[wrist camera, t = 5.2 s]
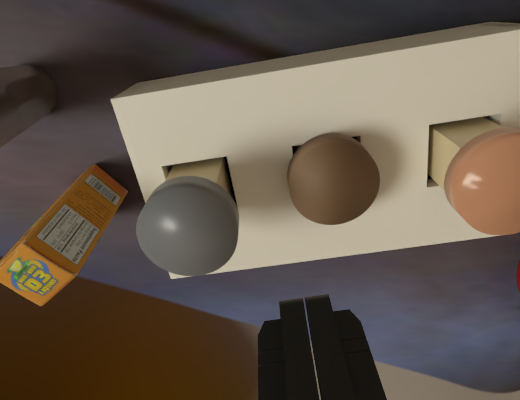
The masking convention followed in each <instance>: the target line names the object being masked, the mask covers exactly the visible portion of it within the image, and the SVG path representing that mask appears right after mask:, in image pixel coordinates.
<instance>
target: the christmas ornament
mask: <svg viewBox="0 0 520 400" xmlns="http://www.w3.org/2000/svg"><path fill="white" fill-rule="evenodd" d="M516 278H517V285H518V289H519V292H520V261H519V264H518V267H517V275H516Z"/></svg>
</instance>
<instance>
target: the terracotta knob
mask: <svg viewBox="0 0 520 400" xmlns="http://www.w3.org/2000/svg"><path fill="white" fill-rule="evenodd" d="M427 174H428V175H429V176H430V177H431V178H432V179H433V180H434V181H435V182H436V183H437V184H438V185H439V186H440V187H441V188H442V189H443V190H444V191H445V195H446V198H447V200H448V202H449V204H450V205H451V206H452V207H453V208H454V209H455V211H456V212H457V213H458V214H459V215H460V216H461V217H462V218H463V219H464V220H465V221H466V222H467V223H468V224H469V225H470V226H471V227H473V228H474V229H476V230H477V231H480V232H482V233H485V234H490V235H509V234H515V233H518V232H520V128H517V127H502V126H500V125H498V124H496V123H494V122H492V121H490V120H488V119H486V118H484V117H477V118H470V119H464V120H457V121H451V122H444V123H438V124H431V125H429V141H428V168H427Z"/></svg>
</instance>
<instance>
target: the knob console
mask: <svg viewBox="0 0 520 400" xmlns="http://www.w3.org/2000/svg"><path fill="white" fill-rule="evenodd" d="M110 100H111V103H112V105H113V108H114V111H115V114H116V117H117V120H118V123H119V126H120V129H121V132H122V135H123V138H124V141H125V144H126V147H127V150H128V153H129V156H130V159H131V162H132V165H133V168H134V171H135V174H136V177H137V180H138V183H139V186H140V189H141V192H142V195H143V198H144V200H145V203H146V202H147V200H148V199H149V197H150V195H151V194H152V192H153V191H154V190H155V189H156V188H157V187H158V186H159V185H161V184H162V183H163V182H165V180H166V178H167V176H168V175H169V173H170V171H171V169H172V167H173V166H174V164H180V163H187V162H193V161H199V160H206V159H212V158H219V157H225V156H227V160H228V165H229V170H230V174H231V179H232V184H233V188H234V193H235V198H236V202H237V208H238V212H239V231H238V241H237V246H236V249H235V252H234V254H233V255H232V257H231V258H230V260H229V261H228V262H227V263H226V264H225V265H223V266H222V267H221V268H219V269H218V270H216V271H214V272H211V273H208V274H213V273H220V272H228V271H235V270H243V269H251V268H258V267H266V266H273V265H281V264H288V263H296V262H303V261H311V260H319V259H326V258H334V257H341V256H349V255H356V254H364V253H371V252H379V251H386V250H394V249H402V248H409V247H417V246H424V245H432V244H439V243H447V242H454V241H462V240H470V239H477V238H485V237H492V236H500V235H490V234H485V233H482V232H480V231H477V230H476V229H474V228H473V227H471V226H470V225H469V224H468V223H467V222H466V221H465V220H464V219H463V218H462V217H461V216H460V215H459V214H458V213H457V212H456V211H455V209H454V208H453V207H452V206H451V205H450V204H449V202H448V200H447V198H446V195H445V191H444V190H443V189H442V188H441V187H440V186H439V185H438V184H437V183H436V182H435V181H434V180H433V179H429V180H427V168H428V141H429V125H431V124H438V123H444V122H451V121H457V120H464V119H470V118H477V117H484V118H486V119H488V120H490V121H492V122H494V123H496V124H498V125H500V126H502V127H517V128H520V24H519V23H503V22H486V23H480V24H474V25H468V26H463V27H457V28H451V29H445V30H439V31H434V32H428V33H422V34H416V35H411V36H405V37H399V38H393V39H387V40H382V41H376V42H370V43H364V44H358V45H353V46H347V47H341V48H335V49H329V50H324V51H318V52H312V53H306V54H301V55H295V56H289V57H283V58H277V59H272V60H266V61H260V62H254V63H248V64H243V65H237V66H231V67H225V68H220V69H214V70H208V71H202V72H196V73H191V74H185V75H179V76H173V77H167V78H162V79H156V80H150V81H144V82H138V83H136V84H135V85H133V86H131V87H130V88H128V89H126V90H125V91H123V92H122V93H120V94H118V95H117V96H115V97H113V98H112V99H110ZM329 133H338V134H344V135H347V136H350V137H354V136H357V141H358V142H360V143H361V144H362V145H363V146H364V148H365V149H366V150H367V151H368V153H369V154H370V155H371V157H372V158H373V160H374V161H375V163H376V165H377V167H378V170H379V174H380V186H379V191H378V194H377V196H376V198H375V200H374V202H373V203H372V205H371V206H370V207H369V208H368V209H367V210H366V211H365V212H364V213H363V214H362V215H360V216H359V217H357V218H356V219H354V220H351V221H349V222H346V223H343V224H338V225H324V224H319V223H315V222H313V221H310V220H309V219H307V218H305V217H304V216H303V215H301V214H300V213H299V212H298V210H297V209H296V208H295V206H294V204H293V203H292V200H291V197H290V193H289V186H288V179H287V172H288V166H289V163H290V160H291V158H292V156H293V152H292V146H296V145H303V144H304V143H305V142H307V141H308V140H310V139H312V138H314V137H316V136H319V135H323V134H329ZM169 275H170V278H171V279H175V278H183V277H190V276H183V275H178V274H174V273H171V272H169Z"/></svg>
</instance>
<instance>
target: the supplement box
mask: <svg viewBox="0 0 520 400" xmlns="http://www.w3.org/2000/svg"><path fill="white" fill-rule="evenodd" d="M127 193H128V191H127V190H126V189H125V188H124V187H123V186H122V185H120V184H119V183H118V182H117V181H115V180H114V179H113V178H112V177H111V176H109V175H108V174H107V173H106V172H104V171H103V170H102V169H101V168H100V167H98V166H97V165H96V164H93V165H91V166H90V167H89V168H88V169H87V170H86V171H85V172H84V173H83V174H82V175H81V176H80V177H79V178H78V179H77V180H76V181H75V182H74V183H73V184H72V185H71V186H70V187H69V188H68V189H67V190H66V191H65V192H64V193H63V194H62V195H61V196H60V197H59V198H58V199H57V200H56V202H55V203H54V204H53V205H52V206H51V207H50V208H49V209H48V210H47V211H46V212H45V213H44V214H43V215H42V216H41V217H40V218H39V219H38V220H37V221H36V222H35V223H34V225H33V226H32V227H31V228H30V229H29V230H28V231H27V232H26V233H25V234H24V235H23V236H22V238H21V239H20V240H19V241H18V242H17V243H16V244H15V245H14V246H13V247H12V248H11V250H10V251H9V252H8V253H7V254H6V255H5V256H4V257H3V258H2V260H1V261H0V283H2V284H4V285H6V286H7V287H9V288H10V289H12V290H13V291H15V292H17V293H18V294H20V295H22V296H24V297H25V298H27V299H29V300H30V301H32V302H34V303H36V304H38V305H40V306H43V305H44V304H45V303H46V302H47V301H49V300H50V299H51V298H52V297H53V296H55V295H56V294H57V293H58V292H59V291H60V290H61V289H62V288H64V287H65V286H66V285H67V284H68V283H69V282H70V281H71V280H73V279H74V278H75V277H76V276H77V275H78V273H79V271H80V270H81V268H82V266H83V265H84V263H85V261H86V260H87V258H88V256H89V255H90V253H91V252H92V250H93V248H94V247H95V245H96V244H97V242H98V241H99V239H100V237H101V235H102V234H103V232H104V230H105V229H106V227H107V226H108V224H109V222H110V221H111V219H112V217H113V216H114V214H115V213H116V211H117V209H118V208H119V206H120V205H121V203H122V201H123V200H124V198H125V197H126V195H127Z"/></svg>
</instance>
